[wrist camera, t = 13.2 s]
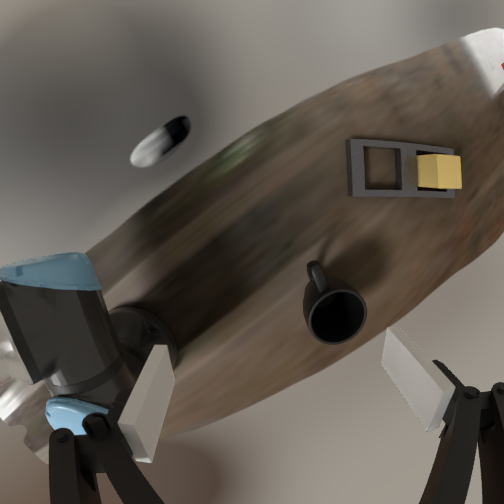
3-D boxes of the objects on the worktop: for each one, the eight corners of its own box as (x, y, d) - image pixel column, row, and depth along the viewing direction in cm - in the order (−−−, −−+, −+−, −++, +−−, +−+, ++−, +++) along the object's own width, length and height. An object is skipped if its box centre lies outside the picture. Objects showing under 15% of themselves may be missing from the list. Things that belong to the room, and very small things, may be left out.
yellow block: (414, 186, 43) (438, 188, 36) (412, 156, 41) (436, 154, 35) (436, 186, 43) (461, 188, 36) (435, 157, 41) (460, 156, 35)
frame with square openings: (348, 195, 43) (352, 196, 41) (345, 140, 41) (350, 138, 39) (448, 197, 43) (454, 198, 41) (446, 149, 41) (453, 148, 39)
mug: (326, 237, 44) (347, 251, 35) (351, 302, 47) (373, 328, 37) (277, 260, 45) (286, 280, 35) (307, 323, 47) (320, 354, 38)
